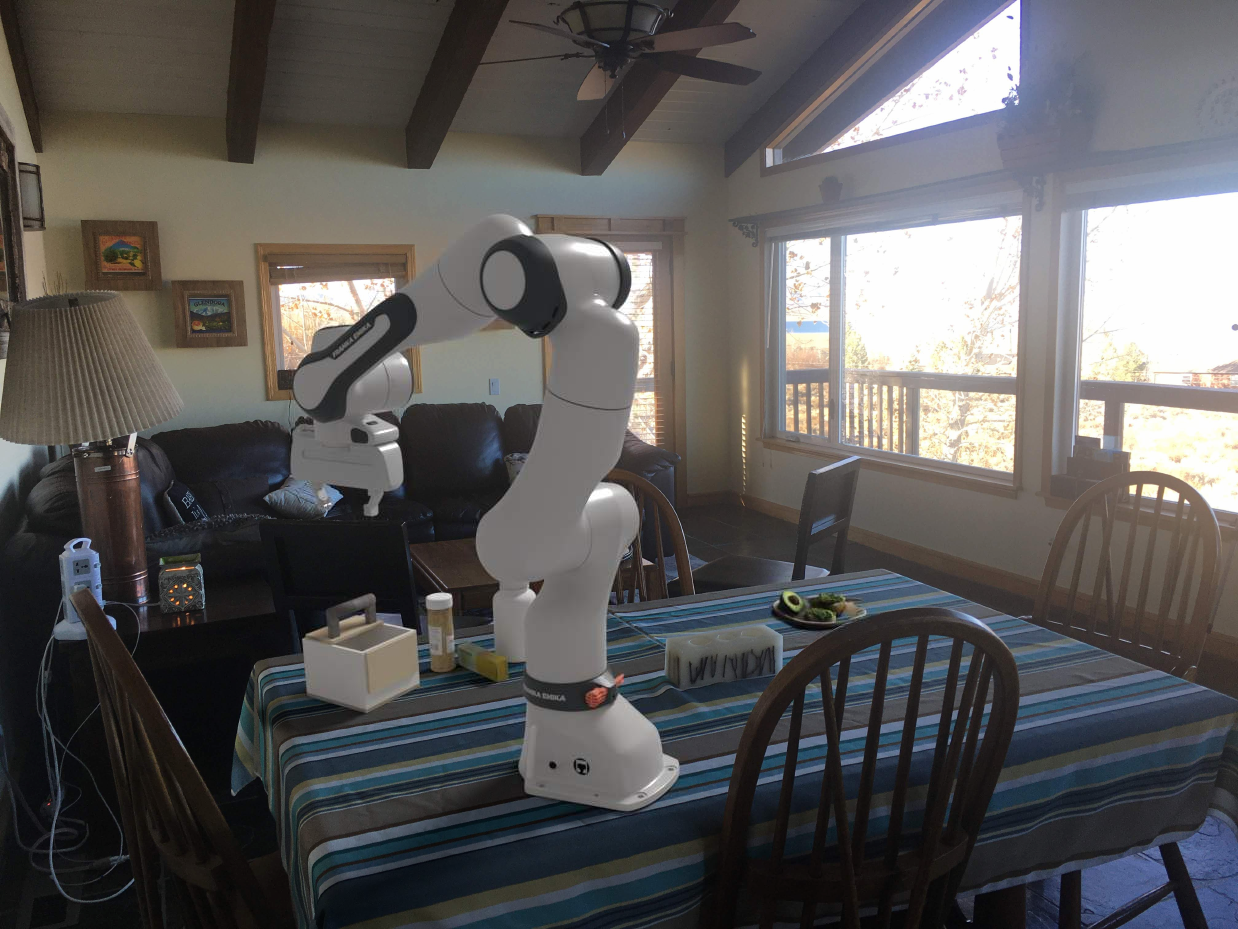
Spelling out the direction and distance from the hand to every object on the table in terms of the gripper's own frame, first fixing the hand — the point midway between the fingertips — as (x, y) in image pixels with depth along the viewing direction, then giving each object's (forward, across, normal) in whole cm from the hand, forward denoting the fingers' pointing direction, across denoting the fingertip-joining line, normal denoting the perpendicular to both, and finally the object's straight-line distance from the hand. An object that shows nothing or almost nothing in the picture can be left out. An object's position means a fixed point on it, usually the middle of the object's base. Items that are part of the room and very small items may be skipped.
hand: (347, 511), depth 150 cm
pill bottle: (+31, +18, +23) cm, 42 cm away
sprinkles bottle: (+31, +8, +13) cm, 35 cm away
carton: (+31, +1, 0) cm, 31 cm away
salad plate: (+30, +63, +64) cm, 95 cm away
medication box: (+31, +15, +15) cm, 38 cm away
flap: (+21, -3, +1) cm, 21 cm away
